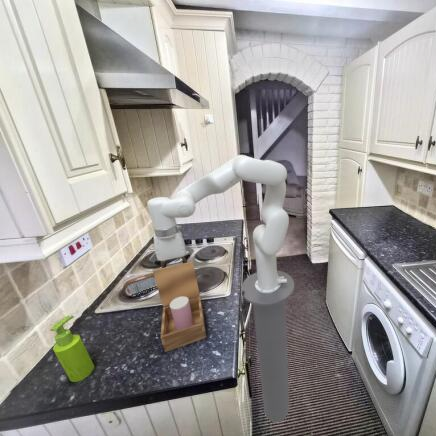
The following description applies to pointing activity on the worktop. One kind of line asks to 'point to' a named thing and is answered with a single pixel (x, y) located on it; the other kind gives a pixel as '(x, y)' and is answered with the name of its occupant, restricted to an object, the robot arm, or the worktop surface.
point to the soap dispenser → (71, 352)
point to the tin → (139, 284)
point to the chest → (187, 335)
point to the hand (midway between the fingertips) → (176, 271)
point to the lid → (176, 282)
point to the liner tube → (181, 313)
